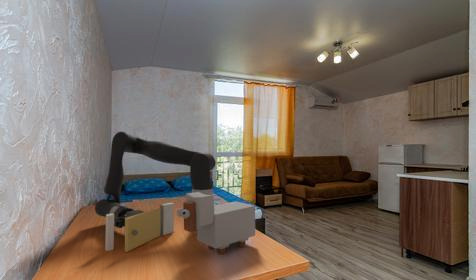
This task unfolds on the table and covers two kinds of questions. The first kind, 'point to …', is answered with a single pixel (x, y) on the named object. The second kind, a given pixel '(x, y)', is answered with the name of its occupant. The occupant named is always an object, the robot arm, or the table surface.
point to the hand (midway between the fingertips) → (140, 224)
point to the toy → (218, 221)
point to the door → (142, 228)
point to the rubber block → (133, 213)
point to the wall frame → (165, 224)
